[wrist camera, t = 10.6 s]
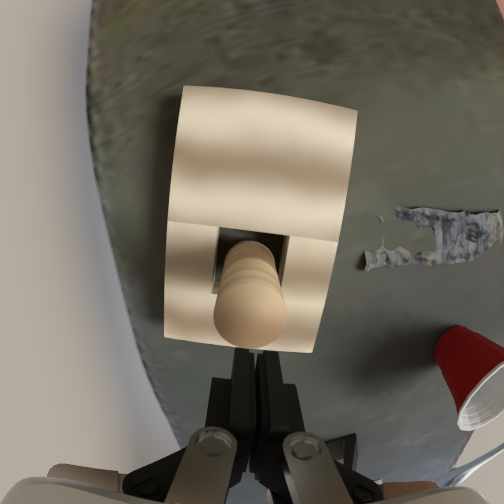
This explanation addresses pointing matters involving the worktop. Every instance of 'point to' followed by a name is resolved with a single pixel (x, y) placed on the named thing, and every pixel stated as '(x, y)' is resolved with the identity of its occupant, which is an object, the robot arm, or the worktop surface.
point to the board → (255, 202)
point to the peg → (249, 297)
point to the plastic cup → (472, 375)
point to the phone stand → (344, 450)
